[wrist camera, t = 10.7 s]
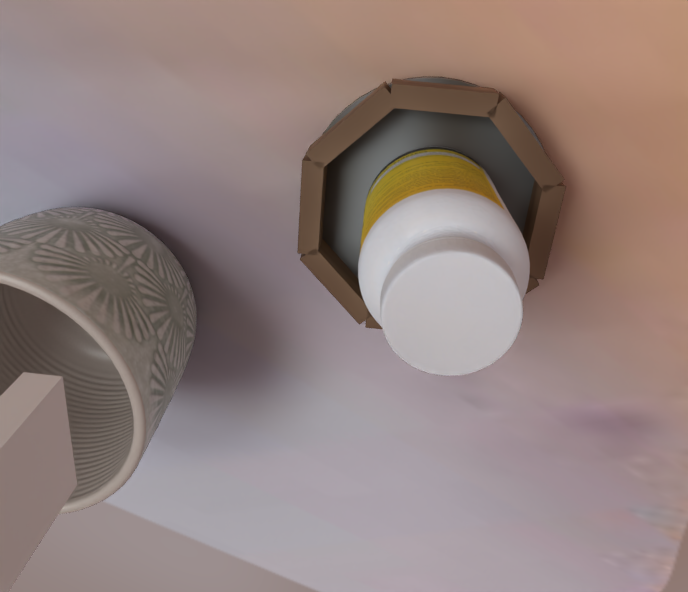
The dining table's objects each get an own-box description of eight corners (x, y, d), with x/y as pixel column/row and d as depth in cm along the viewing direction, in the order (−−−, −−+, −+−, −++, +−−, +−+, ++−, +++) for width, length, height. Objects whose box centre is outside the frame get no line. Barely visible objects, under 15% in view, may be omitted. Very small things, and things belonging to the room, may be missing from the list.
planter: (192, 408, 39) (121, 548, 29) (-5, 347, 38) (-147, 470, 28) (238, 228, 33) (169, 325, 23) (9, 153, 32) (-161, 221, 23)
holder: (297, 300, 35) (289, 322, 32) (310, 64, 29) (302, 70, 27) (521, 325, 34) (530, 349, 32) (576, 89, 29) (592, 97, 26)
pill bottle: (348, 165, 30) (326, 252, 20) (481, 125, 29) (531, 197, 19) (385, 282, 33) (382, 415, 22) (508, 251, 32) (566, 376, 21)
